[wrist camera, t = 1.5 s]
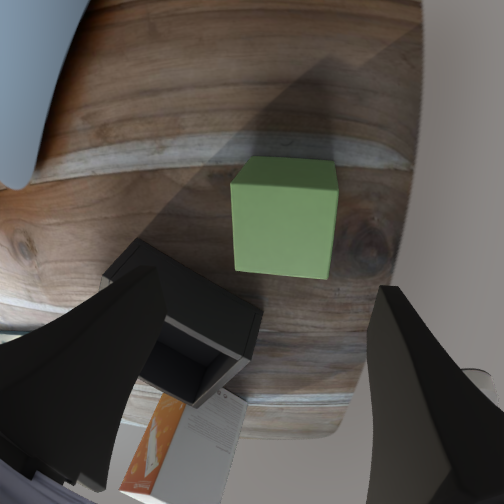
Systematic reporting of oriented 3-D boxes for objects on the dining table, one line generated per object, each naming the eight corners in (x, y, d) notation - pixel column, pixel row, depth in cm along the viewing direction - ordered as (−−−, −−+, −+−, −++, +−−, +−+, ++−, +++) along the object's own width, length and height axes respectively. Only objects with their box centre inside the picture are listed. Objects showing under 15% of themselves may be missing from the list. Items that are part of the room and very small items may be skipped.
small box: (198, 370, 28) (148, 495, 17) (250, 402, 29) (217, 521, 18) (161, 392, 32) (116, 491, 21) (206, 419, 33) (172, 515, 22)
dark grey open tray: (264, 311, 22) (251, 360, 18) (211, 368, 27) (196, 409, 23) (137, 236, 21) (102, 274, 17) (112, 311, 26) (87, 347, 22)
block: (327, 234, 18) (328, 280, 14) (252, 228, 19) (234, 271, 15) (334, 160, 16) (339, 189, 12) (251, 155, 16) (229, 182, 13)
